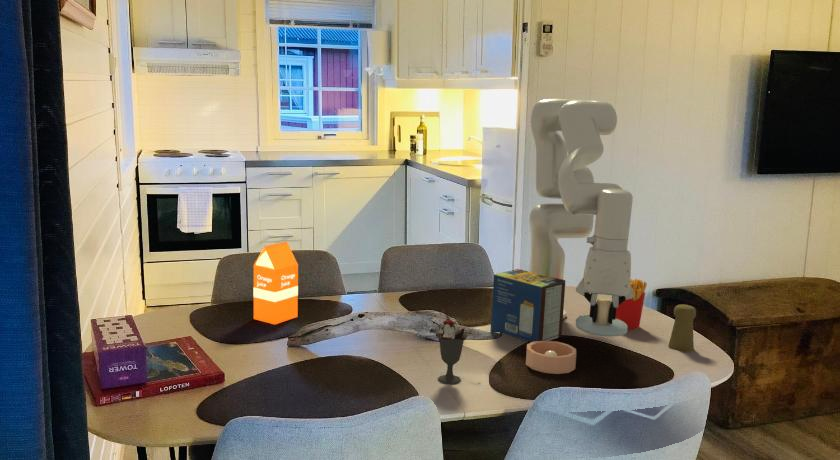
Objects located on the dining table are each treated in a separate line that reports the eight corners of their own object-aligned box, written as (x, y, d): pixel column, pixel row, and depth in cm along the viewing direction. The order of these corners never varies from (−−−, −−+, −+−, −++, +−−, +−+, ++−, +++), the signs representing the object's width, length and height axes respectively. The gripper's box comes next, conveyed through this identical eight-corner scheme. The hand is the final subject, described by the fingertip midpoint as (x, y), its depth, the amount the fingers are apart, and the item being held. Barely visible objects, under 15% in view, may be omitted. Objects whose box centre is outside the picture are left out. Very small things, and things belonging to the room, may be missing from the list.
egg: (540, 364, 162) (541, 350, 162) (547, 360, 165) (548, 347, 164) (553, 368, 160) (554, 354, 160) (560, 364, 163) (561, 350, 162)
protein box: (514, 324, 194) (517, 268, 191) (562, 339, 183) (566, 280, 180) (489, 332, 186) (492, 273, 184) (537, 347, 176) (541, 286, 173)
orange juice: (298, 316, 192) (298, 243, 189) (274, 324, 185) (275, 248, 182) (276, 311, 197) (276, 239, 193) (252, 318, 189) (252, 244, 186)
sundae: (431, 374, 156) (434, 307, 153) (462, 374, 157) (466, 307, 154) (435, 385, 149) (438, 316, 147) (467, 386, 150) (470, 316, 147)
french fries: (619, 330, 192) (623, 283, 189) (609, 325, 196) (613, 279, 193) (646, 327, 196) (650, 281, 193) (635, 322, 199) (639, 277, 197)
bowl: (516, 367, 162) (517, 348, 161) (540, 355, 170) (542, 337, 169) (559, 380, 155) (561, 361, 154) (583, 367, 163) (584, 348, 163)
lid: (566, 327, 165) (569, 300, 164) (589, 315, 174) (592, 289, 173) (614, 340, 158) (617, 312, 157) (635, 327, 167) (638, 301, 166)
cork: (695, 353, 176) (700, 310, 174) (670, 350, 177) (674, 307, 175) (691, 345, 182) (696, 303, 180) (666, 342, 183) (671, 301, 181)
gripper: (574, 244, 159) (566, 323, 164) (650, 251, 157) (640, 330, 161) (572, 237, 167) (565, 312, 171) (645, 243, 164) (636, 319, 168)
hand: (601, 320), depth 166 cm, fingers closed on lid, 3 cm apart
